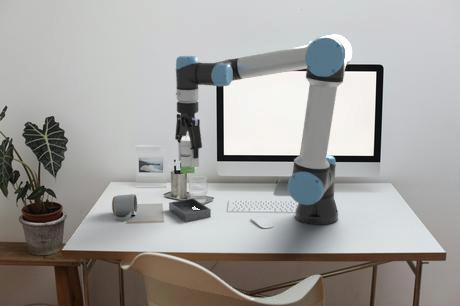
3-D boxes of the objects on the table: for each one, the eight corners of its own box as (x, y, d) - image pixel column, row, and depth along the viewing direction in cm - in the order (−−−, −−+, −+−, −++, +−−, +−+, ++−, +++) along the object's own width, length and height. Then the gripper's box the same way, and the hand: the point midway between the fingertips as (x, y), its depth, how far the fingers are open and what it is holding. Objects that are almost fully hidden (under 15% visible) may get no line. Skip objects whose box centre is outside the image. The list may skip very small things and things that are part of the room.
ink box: (194, 173, 199) (194, 141, 196) (180, 173, 199) (180, 140, 196) (196, 167, 207) (195, 135, 204) (182, 167, 207) (182, 135, 204)
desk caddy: (193, 205, 216) (193, 198, 215) (210, 217, 204) (210, 209, 203) (169, 210, 211) (169, 202, 210) (185, 222, 199) (185, 214, 198)
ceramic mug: (115, 211, 210) (114, 191, 208) (138, 211, 210) (137, 191, 208) (110, 222, 200) (109, 201, 198) (133, 222, 200) (132, 201, 198)
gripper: (164, 97, 205) (166, 157, 210) (191, 106, 186) (192, 172, 192) (183, 96, 208) (184, 155, 214) (211, 104, 190) (212, 169, 195)
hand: (188, 163), depth 203 cm, fingers closed on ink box, 9 cm apart
